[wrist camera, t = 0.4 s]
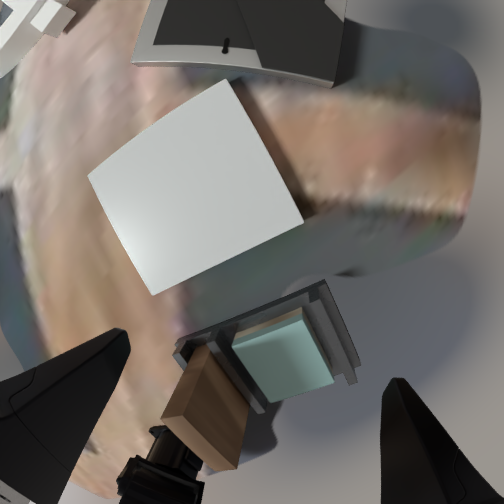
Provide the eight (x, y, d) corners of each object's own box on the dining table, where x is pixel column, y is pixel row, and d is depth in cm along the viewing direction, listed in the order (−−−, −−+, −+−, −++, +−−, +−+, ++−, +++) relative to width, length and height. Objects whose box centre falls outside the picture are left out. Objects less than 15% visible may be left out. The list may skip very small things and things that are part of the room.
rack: (226, 402, 28) (220, 422, 25) (178, 338, 26) (166, 357, 24) (359, 358, 25) (365, 379, 22) (324, 278, 23) (328, 294, 20)
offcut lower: (272, 388, 26) (271, 395, 25) (235, 333, 24) (233, 339, 23) (332, 368, 24) (333, 375, 23) (301, 307, 23) (302, 313, 22)
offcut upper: (271, 395, 25) (270, 403, 24) (233, 339, 23) (231, 346, 22) (333, 375, 23) (334, 382, 22) (302, 313, 22) (302, 319, 21)
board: (157, 291, 25) (152, 295, 24) (94, 174, 23) (87, 175, 22) (303, 219, 22) (304, 222, 21) (228, 82, 19) (225, 78, 18)
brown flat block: (234, 399, 27) (215, 471, 18) (195, 347, 25) (160, 419, 17) (251, 394, 26) (237, 469, 18) (214, 341, 25) (182, 415, 16)
